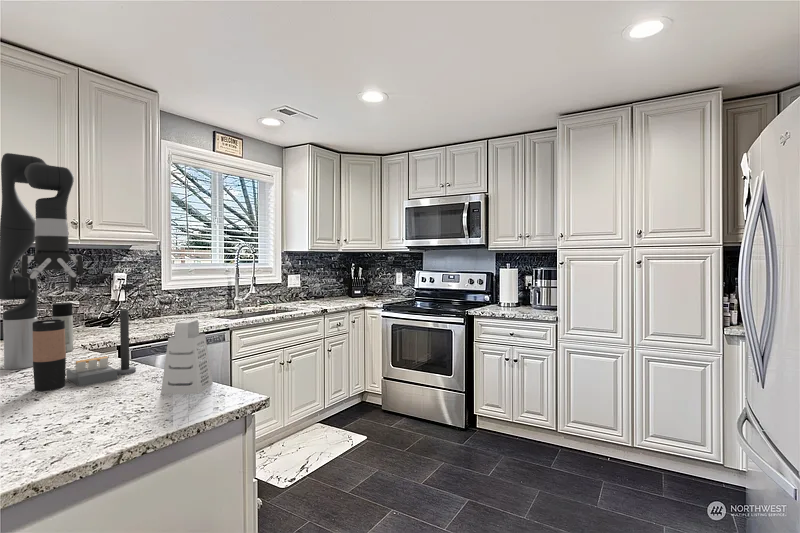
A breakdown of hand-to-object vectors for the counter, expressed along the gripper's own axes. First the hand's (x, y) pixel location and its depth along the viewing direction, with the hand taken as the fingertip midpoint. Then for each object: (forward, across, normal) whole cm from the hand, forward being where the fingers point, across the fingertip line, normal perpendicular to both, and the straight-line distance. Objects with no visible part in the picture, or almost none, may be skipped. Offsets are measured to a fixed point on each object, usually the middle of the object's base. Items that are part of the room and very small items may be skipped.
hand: (53, 291), depth 124 cm
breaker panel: (+29, -11, -7) cm, 32 cm away
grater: (+30, -26, +27) cm, 48 cm away
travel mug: (+30, 0, -6) cm, 30 cm away
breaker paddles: (+26, -11, -7) cm, 29 cm away
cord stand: (+29, -20, -7) cm, 36 cm away
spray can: (+30, -16, -63) cm, 71 cm away
